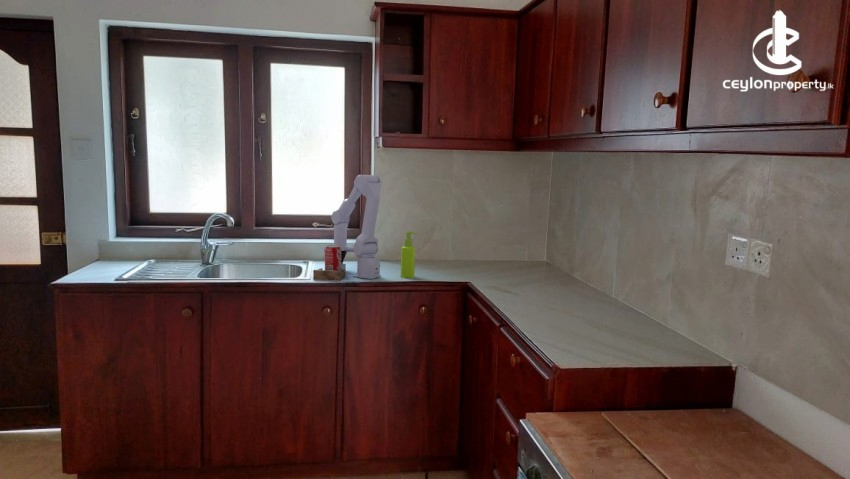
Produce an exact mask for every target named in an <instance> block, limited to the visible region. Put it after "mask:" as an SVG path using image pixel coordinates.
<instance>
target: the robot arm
mask: <svg viewBox="0 0 850 479" xmlns="http://www.w3.org/2000/svg"><path fill="white" fill-rule="evenodd" d="M382 183H383V182H382V180H381V177H379V175H377V174H373V175H372V174H358V175H357V176H356V177H355V179H354V181H353V187H352V190H351V192H350V194H349V196H348V198H346V199H343V200H342V203H341V204H340V206H339V207H338V209H337V210H334V211H332V213H331V216H330V217H331V222H332V223H333V245H340V248H341V264H344V260H345V258H346V255H347V253H353V254H355V257H357V258H356V261H357V266H356V267H357V268H356V272H357V273H356V274H353V275H352V276H353V277H355V278H360V279H361V278H362V279H366V280H367V279H369V280H373V279H376V278H379V277H381V276H382V275H381V261H380V259H379V258H378V257H376V254H377V253H379V252H378V251H379V244H378V243H379V239H378V237H376V236H375V231H376V226H377V219H378V212H379V204H380V199H381V190H382V189H381V188H382ZM361 196H364V197H365V198H366V200H365V208H364V213H363V220H362V227H361V233H360V234H359V235H358V236H357V237H356V238H355V242H354V244H353V247H352V246H348V244H347V242H348V238H347V237H348V227H349V224H350V223H349V222H350V220H351V217H350V215H351V214H352V213H353V211H354V209H355V208H356V204H355V203H356V202H357V200H358V199H359V198H360V197H361ZM325 248H326V245H325V246H324V247H323V251H324V252H325Z"/></svg>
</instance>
